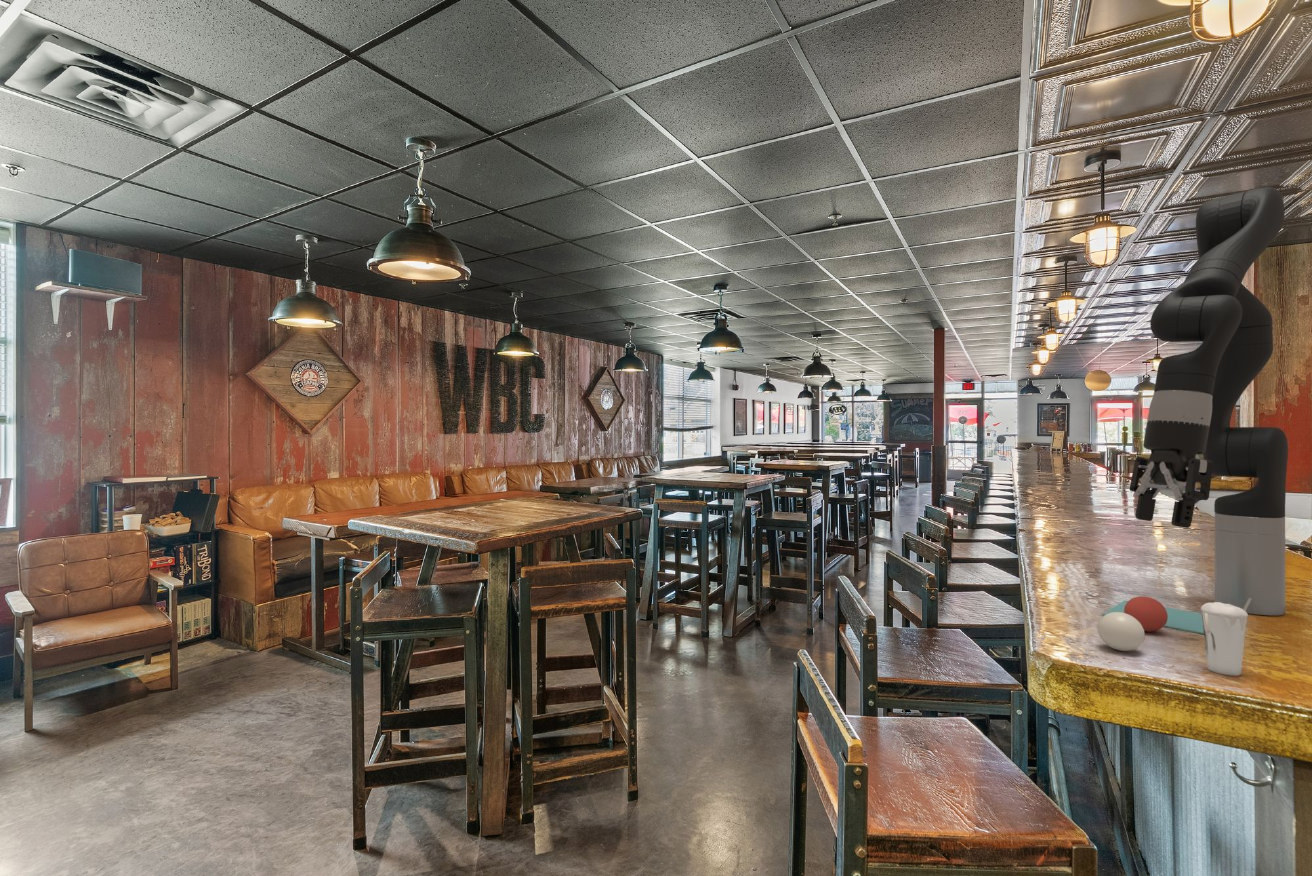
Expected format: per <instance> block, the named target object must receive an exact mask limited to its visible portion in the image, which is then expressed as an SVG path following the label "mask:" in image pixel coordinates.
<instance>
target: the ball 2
mask: <svg viewBox="0 0 1312 876" xmlns="http://www.w3.org/2000/svg"><path fill="white" fill-rule="evenodd" d="M1127 601H1128V602H1127V603H1126V605H1125V608H1124V613H1126V614H1128V615H1131V616H1132V617H1134V618H1135V619H1137V620H1138V621H1139V622H1140V624H1141V625H1142V627H1143V629H1144V632H1156V631H1159V630H1161V629H1163V628H1165V627H1164V626H1165V624H1166V623H1167V620H1168V614H1167V611H1166V609H1165V608H1164V607H1165V606H1164V605H1163V604H1162V603H1161V602H1160V601H1158V600H1157V599H1155V598H1152V597H1150V596H1144V595H1143V596H1142V595H1141V596H1140V595H1139V596H1136V597H1132V598H1130V600H1127Z"/></svg>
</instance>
